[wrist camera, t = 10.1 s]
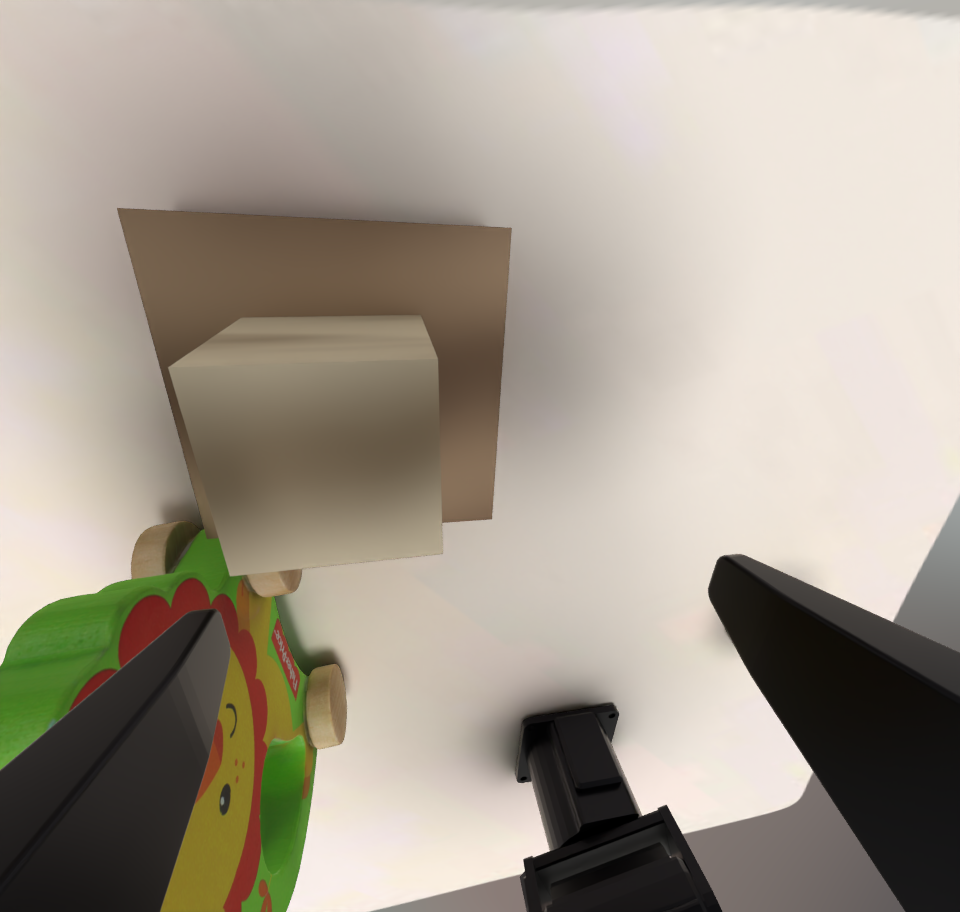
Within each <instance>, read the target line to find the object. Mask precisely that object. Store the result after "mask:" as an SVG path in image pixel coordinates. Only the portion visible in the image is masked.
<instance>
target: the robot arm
mask: <svg viewBox="0 0 960 912" xmlns="http://www.w3.org/2000/svg"><path fill="white" fill-rule="evenodd" d="M708 594H709V598H710V601H711V603H712V605H713V607H714V609H715V610H716V612H717V614H718V616H719V618H720V620H721V622H722V624H723V625H724V627H725V629H726V631H727V633H728V635H729V637H730V638H731V640H732V642H733V644H734V646H735V648H736V650H737V652H738V653H739V655H740V657H741V659H742V661H743V663H744V664H745V666H746V668H747V670H748V671H749V673H750V675H751V676H752V678H753V680H754V681H755V683H756V684H757V686H758V688H759V689H760V691H761V692H762V694H763V695H764V697H765V698H766V700H767V701H768V703H769V704H770V706H771V707H772V709H773V711H774V712H775V714H776V715H777V717H778V718H779V720H780V721H781V723H782V724H783V726H784V727H785V729H786V730H787V732H788V733H789V735H790V736H791V738H792V740H793V741H794V743H795V744H796V746H797V747H798V749H799V750H800V752H801V753H802V755H803V756H804V758H805V759H806V761H807V762H808V764H809V765H810V767H811V768H812V770H813V772H814V773H815V774H816V776H817V778H818V779H819V781H820V782H821V784H822V785H823V787H824V788H825V790H826V791H827V793H828V794H829V796H830V797H831V799H832V801H833V802H834V804H835V805H836V807H837V808H838V810H839V811H840V813H841V814H842V816H843V817H844V819H845V820H846V822H847V823H848V825H849V826H850V828H851V829H852V831H853V833H854V834H855V835H856V837H857V839H858V840H859V842H860V843H861V845H862V846H863V848H864V849H865V851H866V852H867V854H868V855H869V857H870V858H871V860H872V861H873V863H874V864H875V866H876V868H877V869H878V871H879V872H880V874H881V875H882V877H883V878H884V880H885V881H886V883H887V884H888V886H889V887H890V889H891V891H892V892H893V894H894V895H895V897H896V898H897V900H898V901H899V903H900V904H901V906H902V907H903V909H904V910H905V912H960V652H957V651H955V650H953V649H951V648H948V647H946V646H944V645H942V644H940V643H937V642H935V641H933V640H931V639H929V638H926V637H924V636H922V635H920V634H918V633H915V632H913V631H911V630H909V629H906V628H904V627H902V626H900V625H898V624H895V623H893V622H891V621H889V620H887V619H884V618H882V617H880V616H878V615H876V614H873V613H871V612H869V611H867V610H865V609H862V608H860V607H858V606H856V605H854V604H851V603H849V602H847V601H845V600H842V599H840V598H838V597H836V596H834V595H831V594H829V593H827V592H825V591H823V590H820V589H818V588H816V587H814V586H812V585H809V584H807V583H805V582H803V581H801V580H798V579H796V578H794V577H792V576H790V575H787V574H785V573H783V572H781V571H778V570H776V569H774V568H772V567H770V566H767V565H765V564H763V563H761V562H759V561H756V560H754V559H752V558H750V557H748V556H745V555H742V554H732V555H724V556H721V557H720V558H719V559H718V560H717V562H716V565H715V568H714V571H713V574H712V578H711V581H710V584H709V587H708ZM229 661H230V643H229V639H228V636H227V633H226V629H225V626H224V623H223V619H222V616H221V614H220V612H219V611H218V610H217V609H213V608H212V609H202V610H193V611H190V612H188V613H186V614H185V615H183V616H182V617H181V618H180V619H179V620H178V621H176V622H175V623H174V624H173V625H172V626H170V627H169V628H168V629H167V630H166V631H164V632H163V633H162V634H161V635H160V636H159V637H157V638H156V639H155V640H154V641H153V642H151V643H150V644H149V645H148V646H147V647H145V648H144V649H143V650H142V651H141V652H140V653H138V654H137V655H136V656H135V657H134V658H132V659H131V660H130V661H129V662H128V663H126V664H125V665H124V666H123V667H122V668H121V669H119V670H118V671H117V672H116V673H115V674H113V675H112V676H111V677H110V678H109V679H107V680H106V681H105V682H104V683H103V684H102V685H100V686H99V687H98V688H97V689H96V690H94V691H93V692H92V693H91V694H90V695H88V696H87V697H86V698H85V699H84V700H83V701H81V702H80V703H79V704H78V705H77V706H75V707H74V708H73V709H72V710H71V711H69V712H68V713H67V714H66V715H65V716H64V717H62V718H61V719H60V720H59V721H58V722H56V723H55V724H54V725H53V726H52V727H50V728H49V729H48V730H47V731H46V732H45V733H43V734H42V735H41V736H40V737H39V738H37V739H36V740H35V741H34V742H33V743H31V744H30V745H29V746H28V747H27V748H26V749H24V750H23V751H22V752H21V753H20V754H18V755H17V756H16V757H15V758H14V759H12V760H11V761H10V762H9V763H8V764H6V765H5V766H4V767H3V768H2V769H1V770H0V912H160V911H161V908H162V905H163V902H164V898H165V895H166V892H167V889H168V886H169V883H170V880H171V877H172V873H173V870H174V867H175V864H176V861H177V858H178V855H179V852H180V848H181V845H182V842H183V839H184V836H185V833H186V830H187V827H188V823H189V820H190V817H191V814H192V811H193V808H194V805H195V802H196V798H197V795H198V792H199V789H200V786H201V783H202V780H203V777H204V773H205V770H206V766H207V763H208V760H209V756H210V752H211V747H212V743H213V738H214V734H215V729H216V724H217V719H218V714H219V709H220V705H221V700H222V695H223V690H224V685H225V680H226V676H227V671H228V666H229ZM618 717H619V712H618V710H617V708H616V706H614V705H609V706H603V707H596V708H590V709H583V710H576V711H570V712H563V713H557V714H550V715H544V716H537V717H530V718H527V719H525V720H524V721H523V723H522V728H521V735H520V742H519V750H518V757H517V765H516V772H515V775H516V779H517V782H518V783H525V782H531V781H532V784H533V788H534V792H535V796H536V800H537V804H538V807H539V811H540V815H541V819H542V823H543V826H544V830H545V834H546V838H547V842H548V845H549V849H550V851H549V852H547V853H544V854H542V855H539V856H536V857H534V858H533V856H531V857H528V858H525V859H523V861H524V867H525V872H524V873H523V874H522V875H521V876H520V880H521V885H522V890H523V895H524V899H525V904H526V910H527V912H722V910H721V908H720V906H719V904H718V901H717V899H716V897H715V895H714V893H713V891H712V889H711V887H710V885H709V883H708V881H707V879H706V878H705V876H704V874H703V872H702V870H701V868H700V866H699V864H698V863H697V861H696V859H695V857H694V855H693V853H692V851H691V850H690V848H689V846H688V844H687V842H686V840H685V838H684V836H683V835H682V833H681V831H680V829H679V827H678V825H677V823H676V821H675V820H674V818H673V816H672V814H671V812H670V810H669V808H668V807H667V805H664V806H662V807H659V808H658V810H657V811H654V812H652V813H649V814H646V815H644V816H642V814H641V812H640V809H639V807H638V805H637V802H636V800H635V798H634V795H633V793H632V791H631V789H630V786H629V784H628V782H627V779H626V777H625V775H624V772H623V770H622V768H621V765H620V763H619V761H618V759H617V756H616V754H615V752H614V749H613V747H612V745H611V742H612V738H613V734H614V731H615V727H616V724H617V720H618ZM669 856H671V857H672V858H670V857H669Z"/></svg>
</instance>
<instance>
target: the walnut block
mask: <svg viewBox="0 0 960 912" xmlns="http://www.w3.org/2000/svg"><path fill="white" fill-rule="evenodd" d="M117 210H118V214H119V218H120V221H121V225H122V229H123V232H124V236H125V240H126V243H127V247H128V251H129V254H130V258H131V262H132V265H133V269H134V273H135V277H136V280H137V284H138V288H139V291H140V295H141V299H142V302H143V306H144V310H145V313H146V317H147V321H148V324H149V328H150V332H151V335H152V339H153V343H154V346H155V350H156V354H157V357H158V361H159V365H160V369H161V372H162V376H163V380H164V383H165V387H166V391H167V394H168V398H169V402H170V405H171V409H172V413H173V416H174V420H175V424H176V427H177V431H178V435H179V438H180V442H181V446H182V449H183V453H184V457H185V461H186V464H187V468H188V472H189V475H190V479H191V483H192V486H193V490H194V494H195V497H196V501H197V505H198V508H199V512H200V516H201V519H202V523H203V527H204V530H205V534H206V538H207V539H216V538H219V537H218V534H217V531H216V527H215V524H214V521H213V517H212V514H211V511H210V507H209V504H208V500H207V497H206V494H205V490H204V487H203V484H202V480H201V477H200V473H199V470H198V467H197V463H196V460H195V457H194V453H193V450H192V446H191V443H190V440H189V436H188V433H187V430H186V426H185V423H184V419H183V416H182V413H181V409H180V406H179V403H178V399H177V396H176V393H175V389H174V386H173V382H172V379H171V376H170V372H169V369H168V367H169V366H171V365H172V364H174V363H175V362H177V361H178V360H180V359H181V358H183V357H184V356H186V355H187V354H189V353H190V352H191V351H193V350H194V349H196V348H197V347H199V346H200V345H202V344H203V343H205V342H206V341H208V340H209V339H211V338H212V337H214V336H215V335H216V334H218V333H219V332H221V331H222V330H224V329H225V328H227V327H228V326H230V325H231V324H233V323H234V322H236V321H237V320H239V319H240V318H251V317H316V316H381V315H421V317H422V320H423V322H424V325H425V327H426V330H427V332H428V335H429V337H430V340H431V342H432V345H433V347H434V350H435V352H436V355H437V357H438V378H439V419H440V460H441V501H442V523H444V522H459V521H473V520H487V519H492V510H493V495H494V480H495V465H496V451H497V436H498V421H499V406H500V392H501V377H502V362H503V347H504V333H505V318H506V303H507V288H508V273H509V259H510V244H511V229H512V228H502V227H483V226H463V225H443V224H423V223H403V222H383V221H363V220H343V219H323V218H303V217H283V216H264V215H244V214H224V213H204V212H184V211H164V210H144V209H124V208H117Z"/></svg>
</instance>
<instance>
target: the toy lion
mask: <svg viewBox="0 0 960 912" xmlns="http://www.w3.org/2000/svg"><path fill="white" fill-rule="evenodd" d="M131 574H132V579H131V580H126V581H120V582H117V583H113V584H111V585H109V586H107V587H105V588H103V589H102V590H101V591H99V592H98V593H95V594H87V595H80V596H75V597H70V598H65V599H60V600H58V601H56V602H53V603H51V604H48V605H47V606H45V607H43V608H42V609H40V610H39V611H37V612H36V613H34V614H33V615H32V616H31V617H30V618H28V619H27V620H26V621H25V622H24V623H23V625H22V626H21V627H20V628H19V629H18V631H17V632H16V634H15V635H14V637H13V639H12V640H11V642H10V644H9V646H8V648H7V651H6V655H5V658H4V661H3V663H2V665H1V666H0V770H1V769H2V768H3V767H4V766H5V765H6V764H8V763H9V762H10V761H11V760H12V759H14V758H15V757H16V756H17V755H18V754H20V753H21V752H22V751H23V750H24V749H26V748H27V747H28V746H29V745H30V744H31V743H33V742H34V741H35V740H36V739H37V738H39V737H40V736H41V735H42V734H43V733H45V732H46V731H47V730H48V729H49V728H50V727H52V726H53V725H54V724H55V723H56V722H58V721H59V720H60V719H61V718H62V717H64V716H65V715H66V714H67V713H68V712H69V711H71V710H72V709H73V708H74V707H75V706H77V705H78V704H79V703H80V702H81V701H83V700H84V699H85V698H86V697H87V696H88V695H90V694H91V693H92V692H93V691H94V690H96V689H97V688H98V687H99V686H100V685H102V684H103V683H104V682H105V681H106V680H107V679H109V678H110V677H111V676H112V675H113V674H115V673H116V672H117V671H118V670H119V669H121V668H122V667H123V666H124V665H125V664H126V663H128V662H129V661H130V660H131V659H132V658H134V657H135V656H136V655H137V654H138V653H140V652H141V651H142V650H143V649H144V648H145V647H147V646H148V645H149V644H150V643H151V642H153V641H154V640H155V639H156V638H157V637H159V636H160V635H161V634H162V633H163V632H164V631H166V630H167V629H168V628H169V627H170V626H172V625H173V624H174V623H175V622H176V621H178V620H179V619H180V618H181V617H182V616H183V615H185V614H186V613H188V612H190V611H193V610H202V609H212V608H213V609H217V610H218V611H219V612H220V614H221V616H222V619H223V623H224V626H225V629H226V633H227V636H228V639H229V643H230V661H229V666H228V671H227V676H226V680H225V685H224V690H223V695H222V700H221V705H220V709H219V714H218V719H217V724H216V729H215V734H214V738H213V743H212V747H211V752H210V756H209V760H208V763H207V766H206V770H205V773H204V777H203V780H202V783H201V786H200V789H199V792H198V795H197V798H196V802H195V805H194V808H193V811H192V814H191V817H190V820H189V823H188V827H187V830H186V833H185V836H184V839H183V842H182V845H181V848H180V852H179V855H178V858H177V861H176V864H175V867H174V870H173V873H172V877H171V880H170V883H169V886H168V889H167V892H166V895H165V898H164V902H163V905H162V908H161V911H160V912H286V910H287V908H288V905H289V903H290V900H291V897H292V894H293V891H294V888H295V884H296V881H297V877H298V873H299V869H300V864H301V859H302V854H303V849H304V843H305V838H306V832H307V826H308V820H309V813H310V806H311V799H312V792H313V783H314V775H315V766H316V756H317V749H323V748H327V747H332V746H336V745H340V744H341V743H342V742H343V740H344V736H345V731H346V719H347V702H346V692H345V686H344V682H343V677H342V673H341V670H340V668H339V666H338V665H336V664H332V665H327V666H322V667H317V668H315V669H313V670H312V671H311V673H310V675H309V676H306V675H305V674H304V673H303V672H302V671H301V670H300V669H299V667H298V665H297V664H296V662H295V660H294V658H293V656H292V654H291V651H290V649H289V646H288V644H287V641H286V638H285V635H284V632H283V628H282V625H281V622H280V618H279V614H278V610H277V606H276V602H275V597H274V596H279V595H284V594H289V593H292V592H294V591H295V590H297V588H298V586H299V583H300V580H301V575H302V569H295V570H286V571H276V572H267V573H257V574H248V575H238V576H230V575H229V571H228V568H227V564H226V561H225V558H224V554H223V551H222V548H221V544H220V541H219V538H216V539H207V538H206V534H205V530H204V529H203V530H201V531H200V530H199V529H198V528H197V527H196V526H195V525H194V524H192V523H191V522H188V521H177V522H172V523H167V524H161V525H156V526H152V527H150V528H148V529H146V530H145V531H144V532H143V533H142V534H141V535H140V537H139V538H138V540H137V542H136V544H135V547H134V551H133V555H132V562H131Z"/></svg>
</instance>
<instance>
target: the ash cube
mask: <svg viewBox="0 0 960 912" xmlns="http://www.w3.org/2000/svg"><path fill="white" fill-rule="evenodd" d="M168 369H169V372H170V376H171V379H172V382H173V386H174V389H175V393H176V396H177V399H178V403H179V406H180V409H181V413H182V416H183V419H184V423H185V426H186V430H187V433H188V436H189V440H190V443H191V446H192V450H193V453H194V457H195V460H196V463H197V467H198V470H199V473H200V477H201V480H202V484H203V487H204V490H205V494H206V497H207V500H208V504H209V507H210V511H211V514H212V517H213V521H214V524H215V527H216V531H217V534H218V537H219V541H220V544H221V548H222V551H223V554H224V558H225V561H226V564H227V568H228V571H229V575H230V576H238V575H248V574H257V573H267V572H276V571H286V570H295V569H305V568H314V567H324V566H333V565H343V564H352V563H362V562H371V561H381V560H390V559H400V558H409V557H419V556H428V555H438V554H443V542H442V501H441V460H440V419H439V378H438V357H437V355H436V352H435V350H434V347H433V345H432V342H431V340H430V337H429V335H428V332H427V330H426V327H425V325H424V322H423V320H422V317H421V315H381V316H316V317H251V318H240V319H239V320H237V321H236V322H234V323H233V324H231V325H230V326H228V327H227V328H225V329H224V330H222V331H221V332H219V333H218V334H216V335H215V336H214V337H212V338H211V339H209V340H208V341H206V342H205V343H203V344H202V345H200V346H199V347H197V348H196V349H194V350H193V351H191V352H190V353H189V354H187V355H186V356H184V357H183V358H181V359H180V360H178V361H177V362H175V363H174V364H172V365H171V366H169V367H168Z"/></svg>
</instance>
